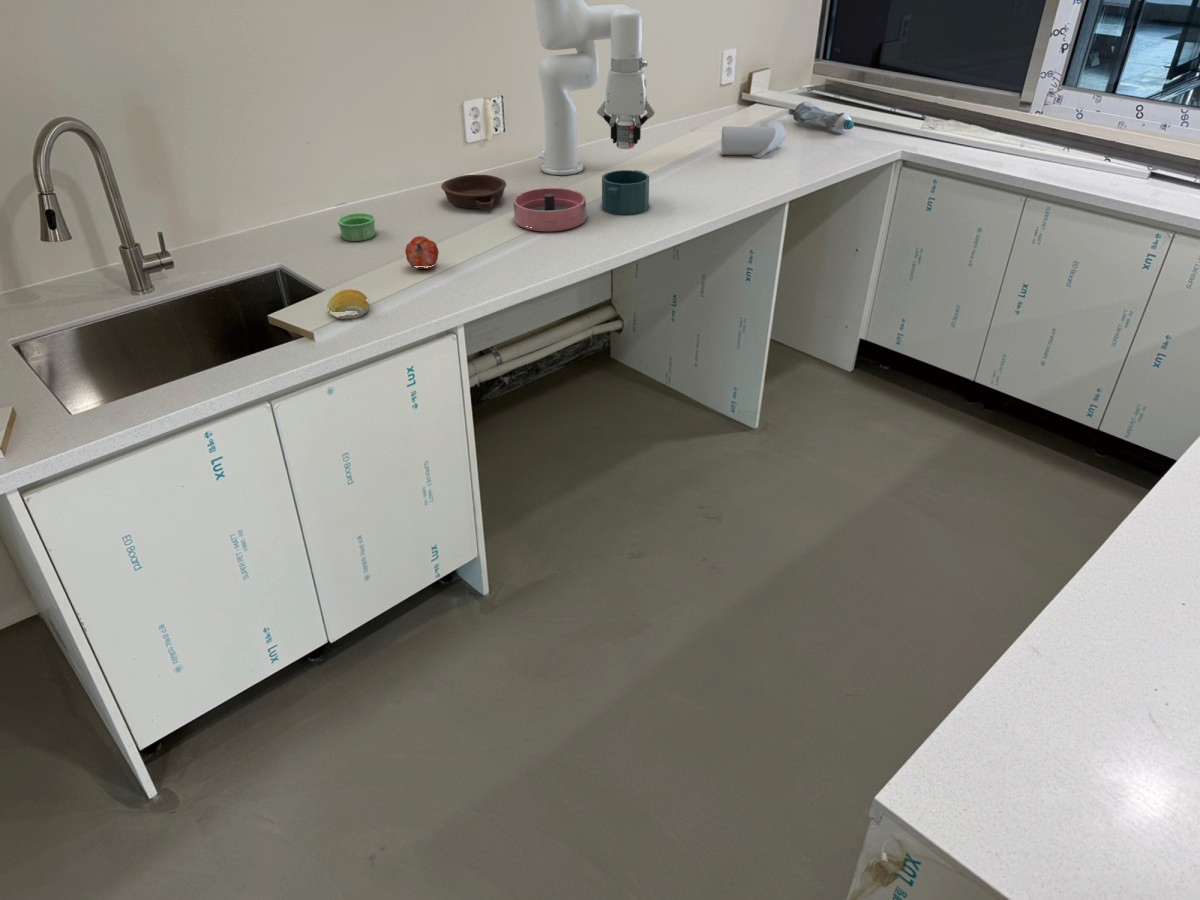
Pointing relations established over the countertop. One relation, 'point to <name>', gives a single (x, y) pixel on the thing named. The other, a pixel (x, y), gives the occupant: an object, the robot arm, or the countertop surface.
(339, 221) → the ramekin
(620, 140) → the pill bottle
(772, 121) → the bent grey cylinder
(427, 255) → the pomegranate
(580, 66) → the robot arm
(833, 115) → the crushed plastic bottle
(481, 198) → the dish
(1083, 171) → the countertop surface
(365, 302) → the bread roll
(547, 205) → the lid
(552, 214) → the bowl
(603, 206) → the pot
